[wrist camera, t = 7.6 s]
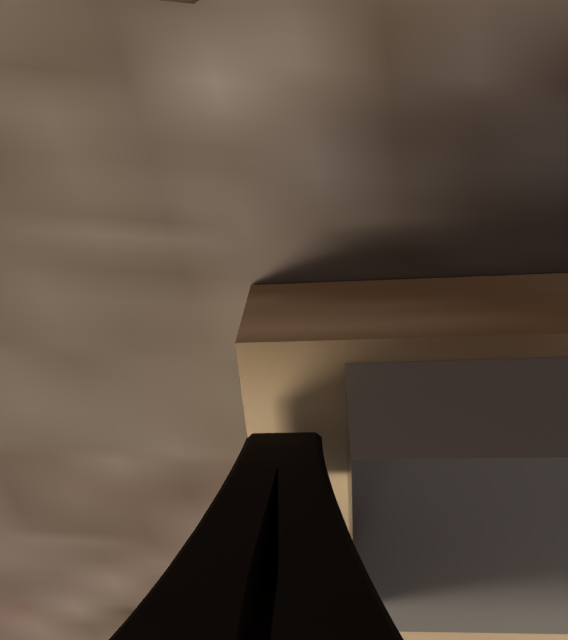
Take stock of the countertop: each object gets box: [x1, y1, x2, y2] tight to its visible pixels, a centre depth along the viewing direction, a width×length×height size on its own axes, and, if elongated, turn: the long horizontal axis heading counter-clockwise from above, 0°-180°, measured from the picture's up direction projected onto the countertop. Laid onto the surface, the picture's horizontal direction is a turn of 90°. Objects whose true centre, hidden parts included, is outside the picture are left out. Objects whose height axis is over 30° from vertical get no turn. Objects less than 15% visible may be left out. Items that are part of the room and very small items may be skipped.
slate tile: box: [345, 357, 568, 634], centre depth 10 cm, size 4×4×2 cm
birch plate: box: [235, 273, 568, 640], centre depth 14 cm, size 14×8×2 cm, turn 4°
